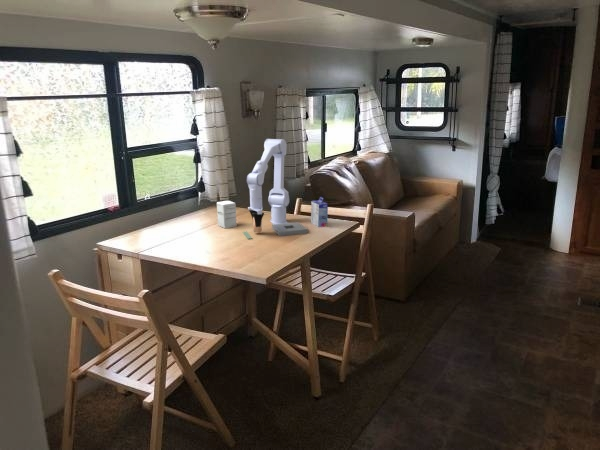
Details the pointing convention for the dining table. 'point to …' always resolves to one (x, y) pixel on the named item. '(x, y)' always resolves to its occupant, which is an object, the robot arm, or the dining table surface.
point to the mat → (247, 235)
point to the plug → (257, 229)
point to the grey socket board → (289, 229)
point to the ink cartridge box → (319, 213)
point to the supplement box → (226, 214)
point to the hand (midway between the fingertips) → (257, 225)
